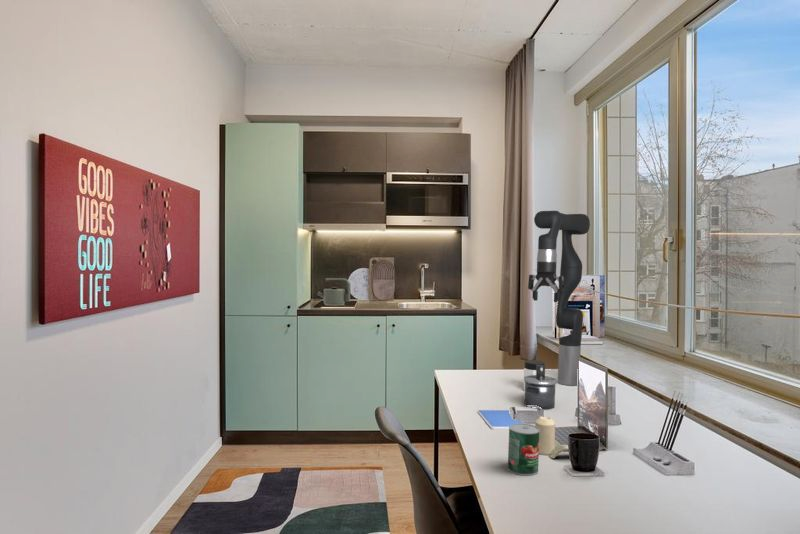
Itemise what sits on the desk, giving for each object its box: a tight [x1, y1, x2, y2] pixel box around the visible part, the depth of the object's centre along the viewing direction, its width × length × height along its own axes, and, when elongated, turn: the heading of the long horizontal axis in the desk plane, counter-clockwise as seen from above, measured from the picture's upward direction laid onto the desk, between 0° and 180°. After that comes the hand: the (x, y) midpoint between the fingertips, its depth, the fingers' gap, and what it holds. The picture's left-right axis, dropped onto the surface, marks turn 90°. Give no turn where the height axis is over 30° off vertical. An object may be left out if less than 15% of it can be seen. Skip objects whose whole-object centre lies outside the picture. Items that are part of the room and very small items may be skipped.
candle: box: [534, 416, 556, 456], centre depth 155 cm, size 6×6×10 cm
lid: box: [523, 365, 558, 386], centre depth 202 cm, size 12×12×6 cm
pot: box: [524, 382, 556, 411], centre depth 202 cm, size 15×11×9 cm
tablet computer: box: [477, 409, 525, 430], centre depth 184 cm, size 19×13×1 cm, turn 6°
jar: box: [523, 359, 546, 392], centre depth 224 cm, size 9×8×12 cm
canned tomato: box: [507, 423, 540, 477], centre depth 142 cm, size 8×8×11 cm
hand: (545, 301), depth 215 cm, fingers open, 8 cm apart
